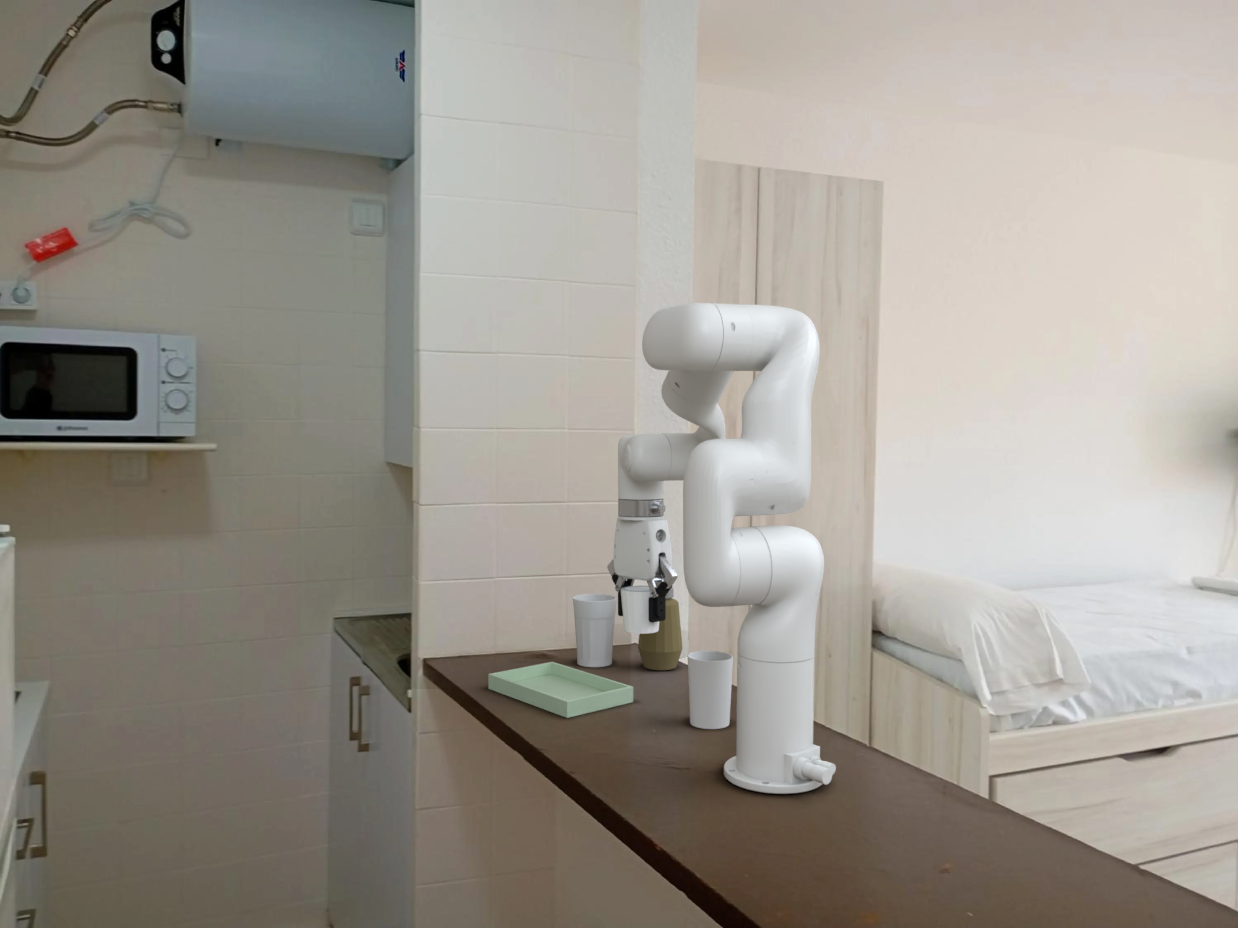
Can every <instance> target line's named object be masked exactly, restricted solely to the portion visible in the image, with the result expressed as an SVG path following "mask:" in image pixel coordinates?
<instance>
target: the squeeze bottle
mask: <svg viewBox="0 0 1238 928" xmlns="http://www.w3.org/2000/svg"><path fill="white" fill-rule="evenodd" d="M655 584H656V587H658V586H659V585H658V583H655ZM674 590H675V589H674V587H673V586H672V588H671V589H670V590H669V594H668V596H665V602H666V618H665V620H664V621H659V631H658V632H655V633H648V634H638V645H637V649H638V653H639V655H640V659H641V662H642V666H643V668H645V669H648V670H652V671H669V670H673V669H676V668H677V666H678V663H679V660H680V658H681V654H682V651H683V640H682V639H683V638H682V627H681V615H680V604H679V601H678V600H677V599H675V598H674V594H675V593H674Z"/></svg>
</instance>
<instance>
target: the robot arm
mask: <svg viewBox="0 0 1238 928" xmlns="http://www.w3.org/2000/svg"><path fill="white" fill-rule="evenodd" d="M641 341H642V342H641V347H642V355H643V357H644V360H645V361H646V363H647V365H648V366H649V367H651V368H652V369H655V370H657V371H667V373H666V375H665V378H664V380H663V382H662V385H661V389H660V390H661V391H660V392H661V397H662V400H663V403H664V404H665V406H666V407H667V408H668V409H669V410H670V411H671V412H672V413H674V414H675V416H678V417H680V418H681V419H683V420H684V421H688V422H690V423H691V424H694V425H696V426H698V428H697V429H696V430H695V431H694V432H692V433H691V432H689V433H688V432H686V433H685V432H663V433H637V434H629V435H624V436H622V437H620V439H619V440H618V443H617V496H618V500H617V505H618V506H617V509H618V511H617V515H618V516H617V519H616V523H615V532H614V540H613V558H612V559H611V561H610V562H608V564H607V571H608V572H609V574H610V577H611V581H612V582H613V585H615V586H614V590H615V592H616V593H617V615H618V616H619V617H623V610H622V599H621V588H624V587H629V586H634V583H635V580H638V581H644V582H646V583H647V586H649V590H650V593H651V596H652V597H649V621H650V622H659V621H664V620H665V618H666V602H665V596H668V594H669V590H670V589H671V588H672V587H673V585H674V584H675V582H676V581H677V579H678V573H677V572H676V570H675V569H674V567H673V549H672V539H671V532H670V527H669V522H668V519H667V518H665V512H666V506H665V493H664V492H665V481H667V482H669V481H670V482H671V481H673V482H674V481H682V545H683V546H682V550H683V551H682V555H683V556H682V558H683V560H682V562H683V563H682V564H683V575H684V582H685V586H686V589H687V592H688V594H689V596H690V597H691V598H692V600H693V601H694V602H696V603H697V604H698V605H701V606H703V607H708V608H722V607H723V608H726V607H739V606H740V607H741V606H751V607H750V608H749V610H748V612H747V613H746V616H745V617H744V619H743V621H742V623H741V626H740V628H739V632H738V637H737V651H736V655H737V657H736V743H735V745H736V750H735V751H736V752H735V753H736V754H735V756H732V757H730V758H729V759H728V760H726V761H725V762H724V764H723V776H724V778H725V779H726V780H728V782H729V783H731V784H732V785H734V786H737V787H739V788H741V789H745V790H748V791H751V792H756V793H763V794H773V795H791V794H792V795H793V794H801V793H806V792H810V791H813V790H816V789H818V788H819V787H821V786H822V785H829V784H830V783H831V782H832V779H833V776H834V774H835V773H836V770H837V766H836V764H835V763H833V762H829V761H826V760H822V759H821V746H820V745H816V744H814V717H815V716H814V711H815V704H814V703H815V654H816V653H815V649H816V647H815V645H816V644H815V643H816V641H815V640H816V625H817V624H816V621H817V612H818V605H819V600H820V599H819V598H820V593H821V589H822V584H823V580H824V573H825V557H824V556H825V555H824V551H823V548H822V545H821V543H820V542H819V540H818V538H817V537H816V536H815V535H814V534H812V533H811V532H810V531H807V530H806V529H804V528H801V527H798V526H794V525H793V526H792V525H783V524H782V525H756V526H755V525H753V526H747V527H745V526H744V527H732V525H733V520H734V518H735V517H754V516H755V517H756V516H757V517H758V516H775V515H787V514H791V513H792V514H793V513H795V512H798V511H799V510H801V509H803V508H804V507H805V506H806V505H807V502H808V500H809V498H810V494H811V486H812V399H813V395H814V394H813V393H814V387H815V383H816V380H817V379H816V378H817V375H818V370H819V366H820V365H819V364H820V355H821V350H820V349H821V348H820V345H821V344H820V339H819V334H818V331H817V328H816V326H815V323H814V322H813V321H812V320H811V318H810V317H809V316H808V315H807V314H805V313H804V312H802V311H800V310H797V309H795V308H791V307H787V306H786V307H785V306H780V305H769V304H754V303H753V304H750V303H748V304H747V303H745V304H744V303H742V304H741V303H740V304H739V303H717V302H714V303H713V302H689V303H682V304H678V305H673V306H667V307H662V308H660V309H658V310H657V311H655V312H654V313H653V314H652V315H651V316H650V318H649V319H648V321H647V323H646V325H645V328H644V330H643V334H642V340H641ZM735 372H759V373H758V374H757V376H756V377H755V378H754V380H753V381H752V382H751V384H750V385H749V387H748V389H747V390H746V392H745V394H744V397H743V399H742V402H741V403H742V405H741V434H740V437H739V438H726V421H725V416H724V413H723V410H722V409H721V406H720V405H719V402H720V399H721V398H722V396H723V394H724V391H725V390H726V388H727V386H728V384H729V383H730V381H731V378H732V377H733V375H734V373H735ZM655 583H658V585H659V586H658V587H656V584H655Z"/></svg>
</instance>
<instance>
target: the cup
mask: <svg viewBox="0 0 1238 928" xmlns="http://www.w3.org/2000/svg"><path fill="white" fill-rule="evenodd" d="M617 602H618V596H616V595H612V594H607V593H583V594H578V595H574V596H573V597H572V605H573V617H574V632H575V643H576V645H575V646H576V664H577V665H579V666H581V667H586V668H604V667H608V666H611V665H612V664H613V650H614V649H613V647H614V635H615V623H616V612H617V611H616V610H617Z"/></svg>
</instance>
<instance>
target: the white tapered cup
mask: <svg viewBox="0 0 1238 928" xmlns="http://www.w3.org/2000/svg"><path fill="white" fill-rule="evenodd" d="M649 597H652V596H651V593H650V590H649V586H648V585H633V586H629V587H624V588H621V599H622V610H623V616H622V619H623V620H622V621H623V629H624V632H625V633H629V634H635V635H636V634H638V635H639V634H648V633H655V632H658V631H659V622H650V621H649Z"/></svg>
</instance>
